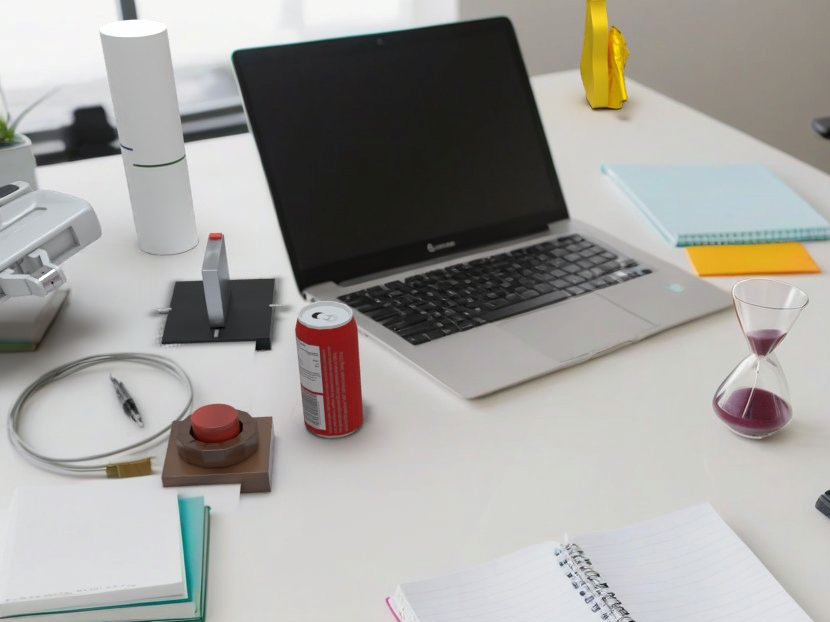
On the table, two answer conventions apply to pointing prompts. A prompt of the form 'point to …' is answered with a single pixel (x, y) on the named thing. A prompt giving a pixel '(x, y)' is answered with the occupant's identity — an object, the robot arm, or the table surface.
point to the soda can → (329, 368)
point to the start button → (215, 423)
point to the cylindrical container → (150, 134)
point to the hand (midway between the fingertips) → (52, 282)
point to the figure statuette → (603, 59)
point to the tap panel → (244, 315)
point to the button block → (222, 456)
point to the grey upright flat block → (216, 280)
